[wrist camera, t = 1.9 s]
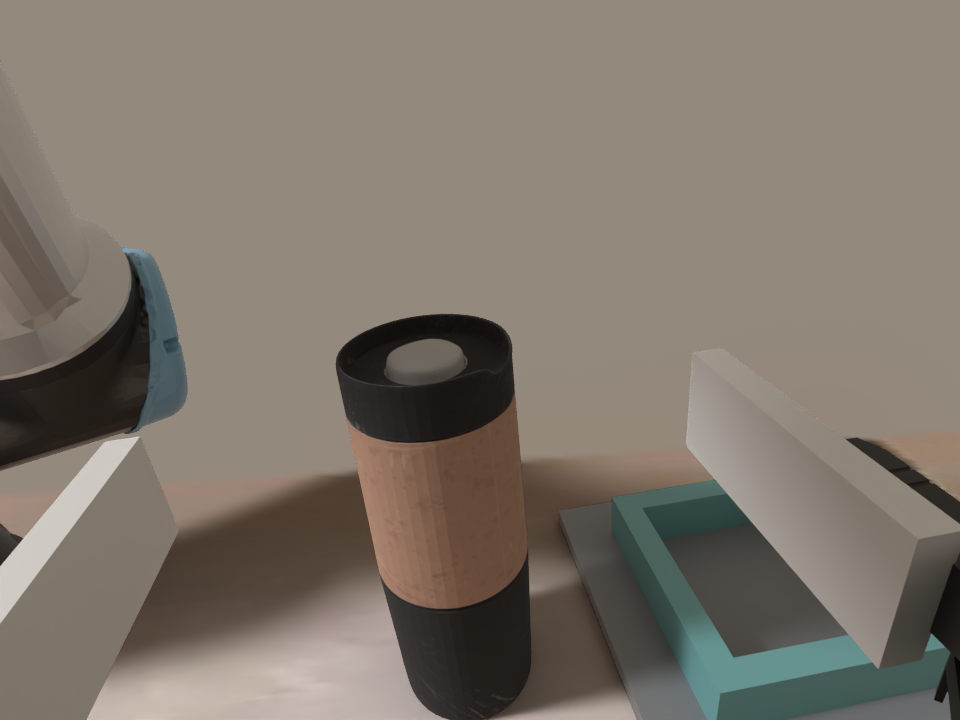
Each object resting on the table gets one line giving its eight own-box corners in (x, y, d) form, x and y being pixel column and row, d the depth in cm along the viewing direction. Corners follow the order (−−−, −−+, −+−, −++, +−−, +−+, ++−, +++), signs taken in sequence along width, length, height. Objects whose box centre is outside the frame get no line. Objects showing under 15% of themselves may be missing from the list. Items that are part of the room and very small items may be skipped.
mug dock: (682, 832, 24) (688, 778, 23) (558, 521, 42) (556, 477, 41) (1095, 739, 26) (1130, 682, 24) (808, 478, 44) (817, 434, 42)
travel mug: (389, 634, 35) (320, 335, 26) (503, 589, 37) (474, 301, 28) (425, 754, 28) (349, 408, 20) (560, 691, 31) (545, 357, 22)
